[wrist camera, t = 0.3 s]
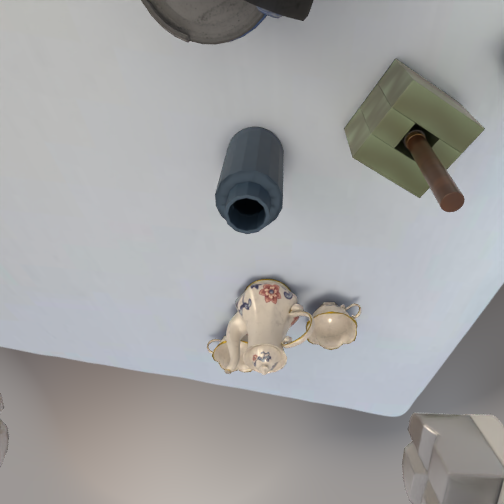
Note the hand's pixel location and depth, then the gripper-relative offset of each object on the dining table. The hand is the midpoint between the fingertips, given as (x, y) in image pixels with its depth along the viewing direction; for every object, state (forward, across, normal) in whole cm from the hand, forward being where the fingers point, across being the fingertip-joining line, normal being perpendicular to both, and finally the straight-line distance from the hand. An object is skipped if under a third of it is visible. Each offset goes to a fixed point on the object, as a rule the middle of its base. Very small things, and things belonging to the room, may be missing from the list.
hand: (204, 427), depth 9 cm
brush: (+52, -18, -6) cm, 55 cm away
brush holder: (+52, -18, -6) cm, 55 cm away
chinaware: (+63, -4, +27) cm, 69 cm away
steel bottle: (+54, 0, 0) cm, 54 cm away
